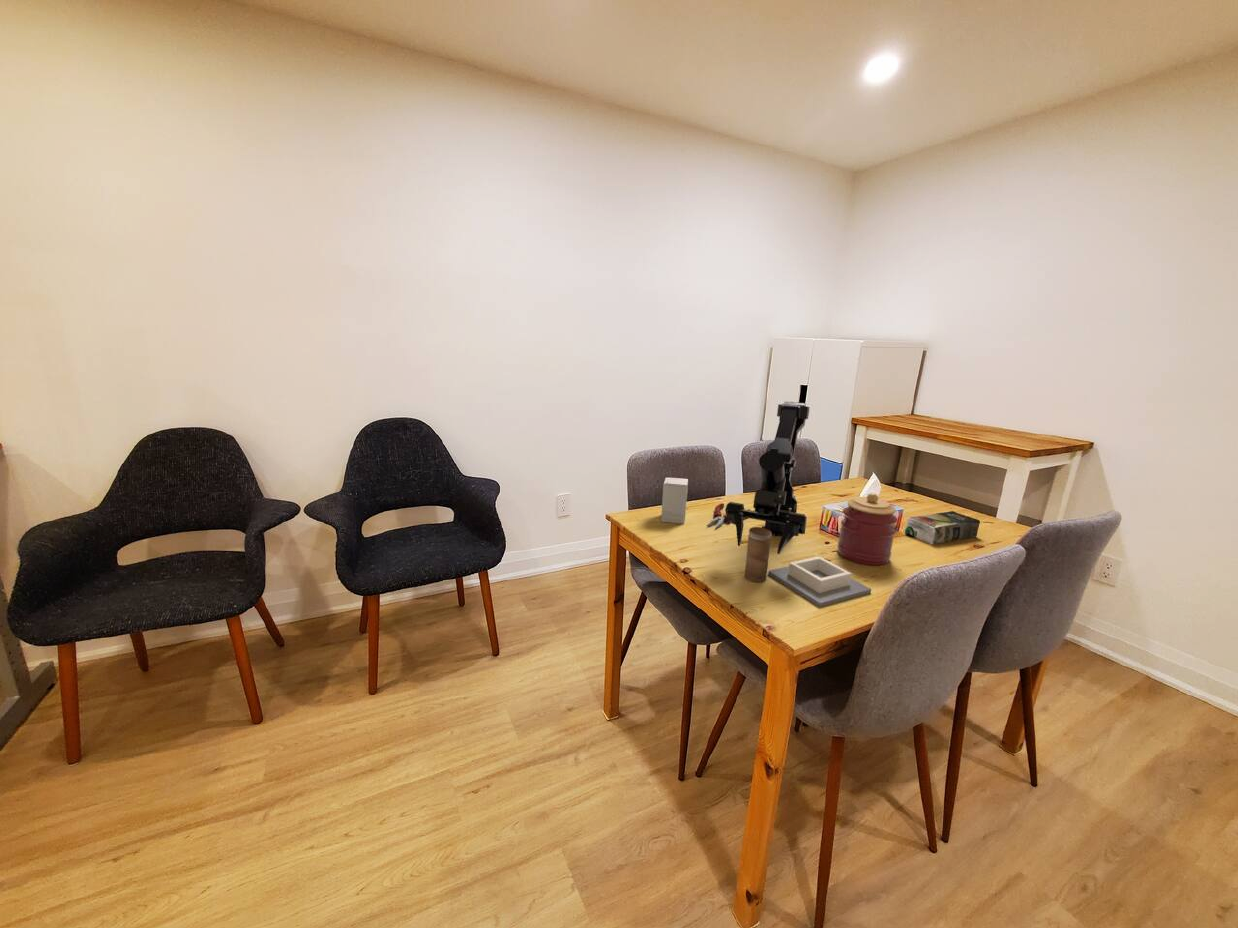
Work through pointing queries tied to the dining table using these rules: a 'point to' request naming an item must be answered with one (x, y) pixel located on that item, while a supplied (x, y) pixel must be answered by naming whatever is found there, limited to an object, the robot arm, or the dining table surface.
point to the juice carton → (942, 527)
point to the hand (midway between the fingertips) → (758, 549)
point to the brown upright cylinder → (757, 554)
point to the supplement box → (674, 500)
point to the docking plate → (819, 581)
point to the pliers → (719, 517)
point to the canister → (867, 530)
